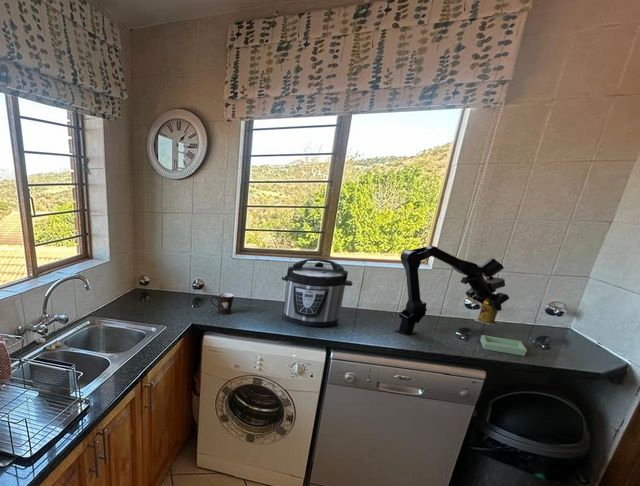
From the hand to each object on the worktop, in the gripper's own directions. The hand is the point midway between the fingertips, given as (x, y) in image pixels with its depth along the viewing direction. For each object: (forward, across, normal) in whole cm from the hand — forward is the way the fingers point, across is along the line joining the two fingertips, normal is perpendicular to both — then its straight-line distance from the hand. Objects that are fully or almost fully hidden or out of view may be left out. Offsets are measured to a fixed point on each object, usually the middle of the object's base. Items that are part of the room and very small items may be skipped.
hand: (495, 308), depth 185 cm
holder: (+6, -16, +13) cm, 21 cm away
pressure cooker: (-44, +18, +64) cm, 80 cm away
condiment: (+4, 0, +6) cm, 7 cm away
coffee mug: (-74, +30, +96) cm, 125 cm away
